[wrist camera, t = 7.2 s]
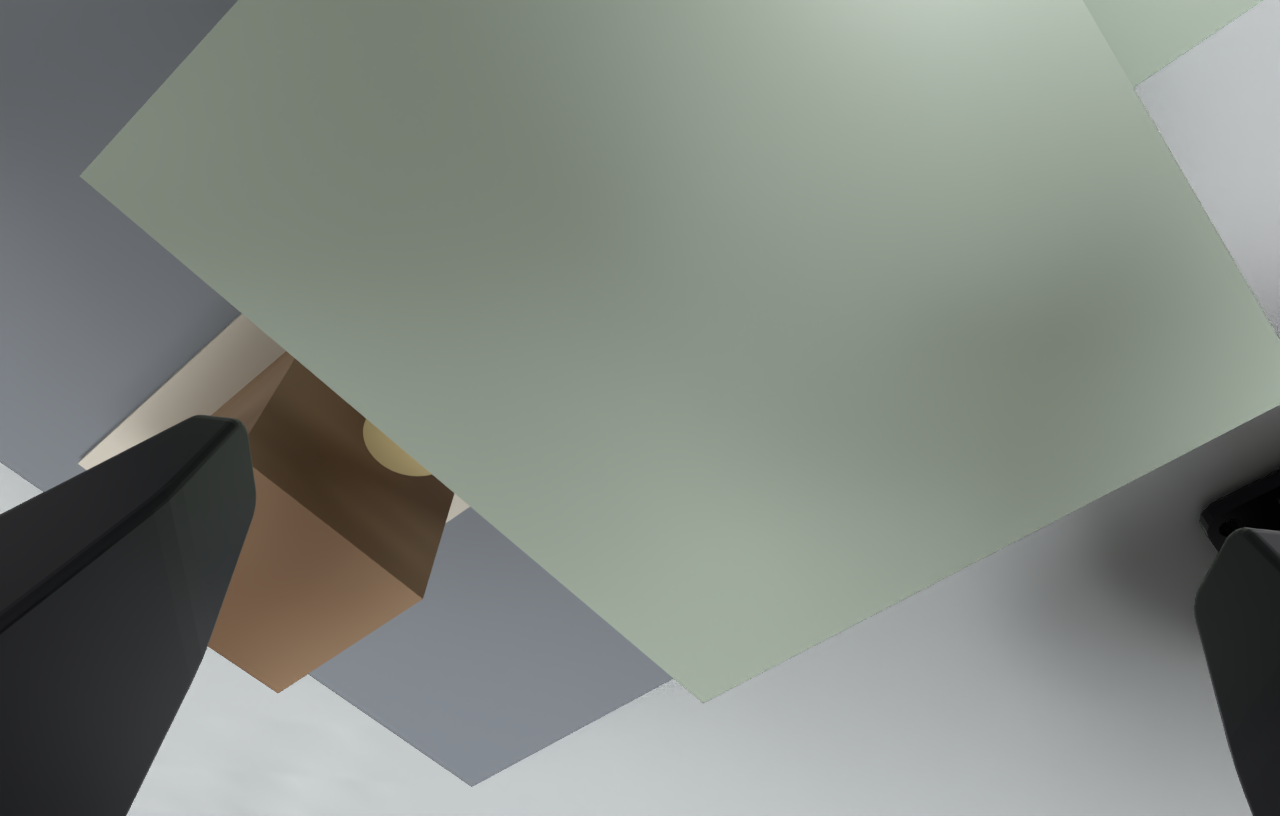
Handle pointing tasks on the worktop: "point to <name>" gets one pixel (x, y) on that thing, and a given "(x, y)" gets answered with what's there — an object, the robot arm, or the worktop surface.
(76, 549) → the robot arm
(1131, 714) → the worktop surface
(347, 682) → the board
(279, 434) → the block
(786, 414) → the housing
